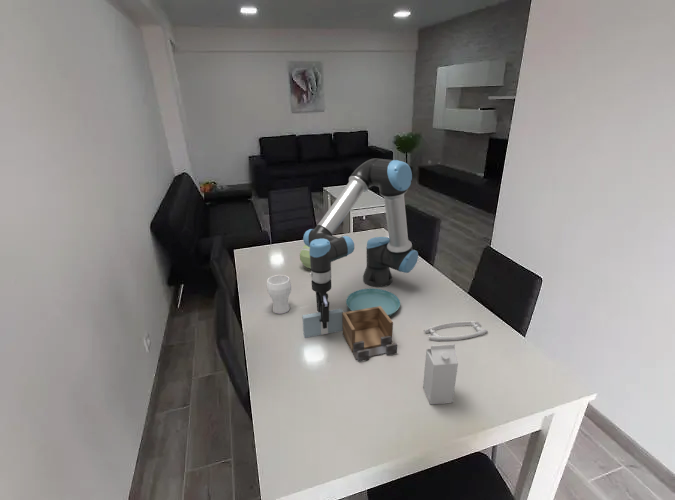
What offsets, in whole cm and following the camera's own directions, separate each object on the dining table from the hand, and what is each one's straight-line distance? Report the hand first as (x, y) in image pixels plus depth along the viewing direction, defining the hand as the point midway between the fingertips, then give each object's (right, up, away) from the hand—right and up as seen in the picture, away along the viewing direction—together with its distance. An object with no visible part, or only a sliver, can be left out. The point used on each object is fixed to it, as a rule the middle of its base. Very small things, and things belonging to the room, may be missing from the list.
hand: (323, 331), depth 141 cm
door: (0, -1, 0) cm, 1 cm away
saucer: (+22, +6, +17) cm, 29 cm away
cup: (-20, +6, +17) cm, 27 cm away
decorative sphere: (-8, +23, +58) cm, 63 cm away
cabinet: (+18, -3, -7) cm, 19 cm away
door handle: (+52, -1, -2) cm, 53 cm away
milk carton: (+37, -13, -32) cm, 50 cm away
